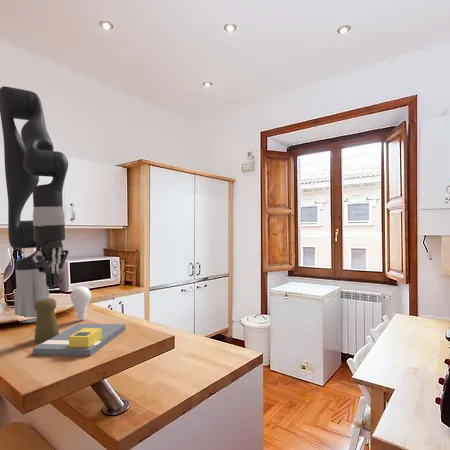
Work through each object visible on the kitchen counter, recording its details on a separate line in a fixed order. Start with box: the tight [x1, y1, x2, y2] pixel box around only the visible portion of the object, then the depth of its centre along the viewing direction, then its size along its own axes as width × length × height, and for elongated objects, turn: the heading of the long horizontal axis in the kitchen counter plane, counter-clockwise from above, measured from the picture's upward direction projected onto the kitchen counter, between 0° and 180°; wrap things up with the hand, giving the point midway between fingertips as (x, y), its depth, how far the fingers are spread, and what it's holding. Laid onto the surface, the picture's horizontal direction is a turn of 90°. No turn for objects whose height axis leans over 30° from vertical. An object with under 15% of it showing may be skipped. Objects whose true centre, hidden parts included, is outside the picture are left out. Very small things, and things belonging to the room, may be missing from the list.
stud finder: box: [69, 328, 102, 348], centre depth 77 cm, size 5×6×3 cm
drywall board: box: [32, 323, 126, 357], centre depth 83 cm, size 15×18×2 cm
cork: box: [33, 297, 60, 344], centre depth 85 cm, size 6×6×11 cm
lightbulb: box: [69, 285, 92, 321], centre depth 101 cm, size 6×6×11 cm
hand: (52, 286), depth 86 cm, fingers closed
